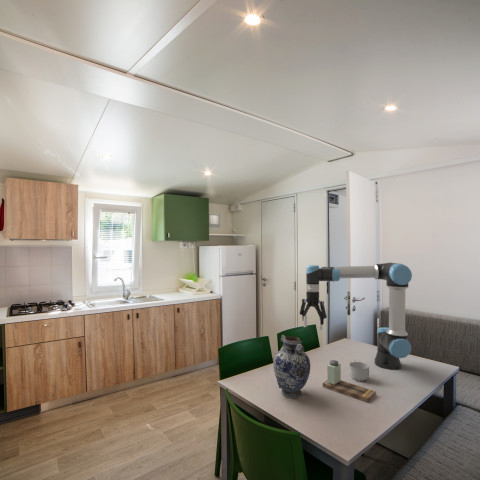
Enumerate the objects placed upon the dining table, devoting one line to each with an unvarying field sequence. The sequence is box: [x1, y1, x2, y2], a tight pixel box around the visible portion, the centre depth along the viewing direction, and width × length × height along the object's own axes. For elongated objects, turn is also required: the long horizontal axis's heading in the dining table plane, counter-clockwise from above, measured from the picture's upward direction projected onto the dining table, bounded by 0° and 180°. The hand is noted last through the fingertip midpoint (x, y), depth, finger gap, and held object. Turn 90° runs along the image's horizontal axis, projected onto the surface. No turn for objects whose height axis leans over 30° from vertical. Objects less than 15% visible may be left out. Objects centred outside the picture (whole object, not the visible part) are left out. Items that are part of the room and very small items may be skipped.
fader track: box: [322, 379, 377, 403], centre depth 163 cm, size 24×10×2 cm, turn 46°
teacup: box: [348, 360, 370, 382], centre depth 179 cm, size 14×11×8 cm
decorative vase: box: [273, 334, 311, 399], centre depth 161 cm, size 21×19×28 cm
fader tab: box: [327, 359, 342, 385], centre depth 168 cm, size 4×7×11 cm, turn 136°
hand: (312, 328), depth 188 cm, fingers open, 10 cm apart
